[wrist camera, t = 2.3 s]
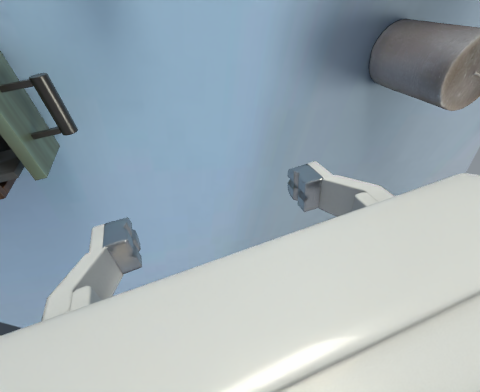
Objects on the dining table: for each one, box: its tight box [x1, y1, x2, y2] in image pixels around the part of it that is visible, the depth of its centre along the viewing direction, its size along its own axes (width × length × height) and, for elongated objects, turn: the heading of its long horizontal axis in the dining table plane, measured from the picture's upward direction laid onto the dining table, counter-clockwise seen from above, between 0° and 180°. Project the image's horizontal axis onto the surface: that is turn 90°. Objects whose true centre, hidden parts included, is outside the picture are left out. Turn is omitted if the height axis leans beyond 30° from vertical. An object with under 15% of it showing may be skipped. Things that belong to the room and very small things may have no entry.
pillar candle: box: [369, 19, 480, 111], centre depth 38 cm, size 10×10×15 cm
